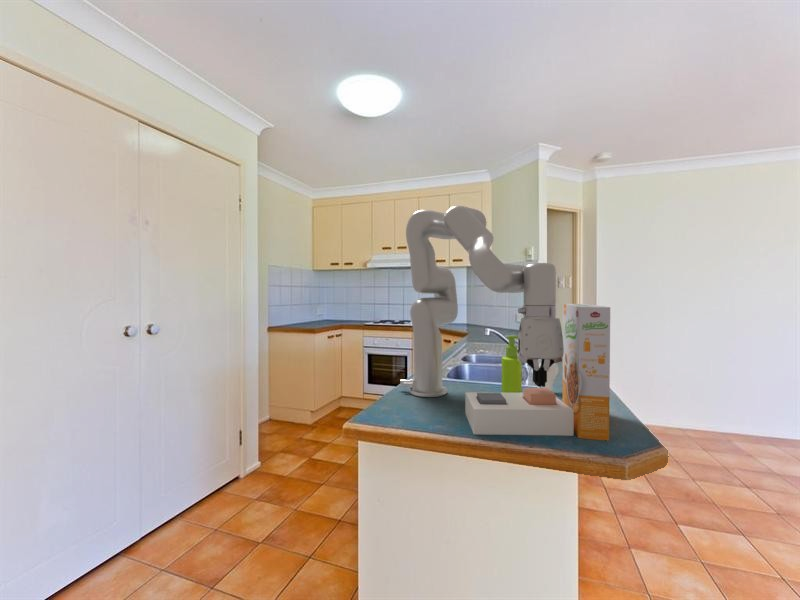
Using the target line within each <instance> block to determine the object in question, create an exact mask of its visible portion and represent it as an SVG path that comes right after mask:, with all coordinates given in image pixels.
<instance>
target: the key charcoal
mask: <svg viewBox="0 0 800 600" xmlns="http://www.w3.org/2000/svg"><path fill="white" fill-rule="evenodd" d="M501 393H502V392H492V393H477V400H478V402H479V403H480V404H501V405H506V399H505V398H504V397H503V396H502V394H501Z"/></svg>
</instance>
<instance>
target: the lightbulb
mask: <svg viewBox="0 0 800 600" xmlns="http://www.w3.org/2000/svg"><path fill="white" fill-rule="evenodd" d="M540 364H541V362H540V363H539V368H540ZM559 369H560V368H559V365H558V363H554V364H553V365H552V366H551V367H550V368H549V370H548V371H547V382H546V383H545V387H543V388H548V389H549V390H551V391H552V392H553V390H554V388H553V387H554V384H555V383H554V381H555V379H556V377H557V375H558V373H559Z"/></svg>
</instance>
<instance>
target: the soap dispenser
mask: <svg viewBox="0 0 800 600" xmlns="http://www.w3.org/2000/svg"><path fill="white" fill-rule="evenodd" d="M506 339H508V345H507V346H505V356H502V357H501V393H523V392H522V386H523V385H522V383H523V382H522V381H523V380H522V377H523V376H522V372H523V371H522V369H523V367H522V363H523V362H520V361H518V345H517V346H516V345H515V341H516V340H515V339H518V335H515V334H514V335H506Z"/></svg>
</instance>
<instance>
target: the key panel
mask: <svg viewBox="0 0 800 600" xmlns="http://www.w3.org/2000/svg"><path fill="white" fill-rule="evenodd" d="M477 393H493V392H492V391H491V392H476V391H475V392H471V391H469V392H467V391H466V392H465V396H464V397H465V398H464V399H465V407H464V408H465V416H466V419H467V422H468V424H469V426H470V428H471V431H472V433H473V435H489V436H490V435H492V436H493V435H496V436H498V435H501V436H505V435H507V436H569V437H570V436H574V433H575V430H574V410H573V409H572V408H570V407H569V406H568V405H566V404H565V403H564V402H562V400H561V399H559V398H558V397H557V396H556V405H530V404H528V403H527V402H526V401H525V400H524V399H523V392H522V393H502V392H500V393H501V394H502V396H503V397H504V398H505V399H506V405H501V404H480V403H479V402H478V400H477Z"/></svg>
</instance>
